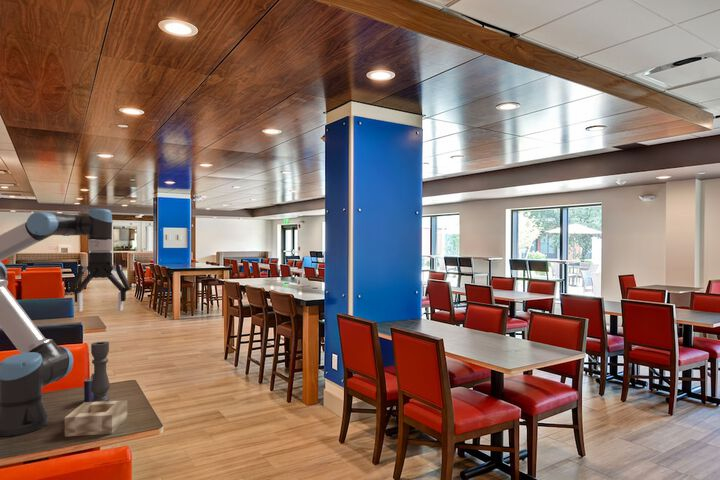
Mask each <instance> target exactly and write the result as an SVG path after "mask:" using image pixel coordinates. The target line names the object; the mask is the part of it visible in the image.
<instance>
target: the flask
mask: <svg viewBox="0 0 720 480" xmlns="http://www.w3.org/2000/svg"><path fill="white" fill-rule="evenodd" d="M90 374H91V376H90V377H89V378H86V379H84V381H83V391H84V393H83V395H84V396H83V397H84V398H83V399H84V401H83V403H84V402H91V400H92V399H93V397H94V396H93V393H92V392H91V383H92V379H93V375H94V372H92V373H90Z"/></svg>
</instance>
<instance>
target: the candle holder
mask: <svg viewBox="0 0 720 480" xmlns="http://www.w3.org/2000/svg"><path fill="white" fill-rule="evenodd" d="M109 352H110V342H109V341H97V342H93V343H91V344H90V353H91V356H92V357H93V359H92V360H91V363H92V364H93V366H94V367H93V373H94V375H93V379H92V383H91V392H92V393H93V396H94V397H93V399H92V400H91V402H100V401H110V397H109V396H108V395H107V394H108V392H109V390H110V388H111V385H110V380H109V376H108V373H107V364H108V362H109V358H107V357H108V355H109Z"/></svg>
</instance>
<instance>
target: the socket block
mask: <svg viewBox="0 0 720 480" xmlns="http://www.w3.org/2000/svg"><path fill="white" fill-rule="evenodd" d="M127 418H128V399H127V400H126V399H125V400H108V401H100V402H84V401H83V402H82V403H81V404H80V405H78V406H77V407H76V408H75V409H74V410H73V411H71V412H70V413H69V414H68V415H66V416H64V437H78V436H94V435H95V436H96V435H113V433H114V432H115V431H116V430H117V429H118V428H119V427H120V426H121V425H122V424H123V423H124V421H125V420H126V419H127Z"/></svg>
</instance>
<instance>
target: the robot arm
mask: <svg viewBox="0 0 720 480" xmlns="http://www.w3.org/2000/svg"><path fill="white" fill-rule="evenodd" d="M51 236H62V237H64V236H66V237H70V236H87V238H88V241H87V242H88V243H87V244H88V246H87V247H88V251H89V253H87V254H88V256H87V257H88V261H87V262H88V265H87V266H86V265H84V264H83V265H82V264H81V265H79V266H78V269H77V273H76V275H75V276H74V278H73V280H72V282H71V284H70V285H69V287H68V292H71V293H73V294H74V303H77V304H76V305H77V306H76V307H77V308H76V309H77V310H76V311H77V313H81V312H83V311H84V293H83V292H82V291H83V289H84V288H85V287H86V286H87V285H88V284H89V283H90V282H91V280H93V279H99V278H101V279H102V278H103V279H104V278H105V279H106V278H107V279H109V281H110V282H112V285H114V287H116V289H117V290H119V292H118V295H117V296H118V297H117V301H118V302H117V304H118V305H117V307H118V308H117V311H118V312H121V311H123V310H124V302H126V300H127V292H129V291H131V290H132V286H131V284H130V283H129V280H128V279H127V277H126V275H125V273H124V271H123V266H122V265H121V264H118V265H113V253H112V251H113V213H112V210H110V209H107V208H89V209H88V211H87V213H85V214H69V213H60V212H59V213H57V212H49V211H37V212H36V211H35V212H33V213H31V214H30V215H29V216H28V218H27V219H26V221H25V222H24V223H21V224H19V225H17V226H15V227H13V228H12V229H9V230H7V231H5V232H4V233H1V234H0V329H1V330H2V331H3V332H4V333H5V335H6V336H7V337H8V339H9V341H11V343H12V344H13V346H14V347H15V348H16V350H17V351H18V353H19V354H13V355H11V356H8V357H6V358H4V359H3V360H1V361H0V437H11V436H12V435H14V436H19V435H23V434H27V433H31V432H34V431H37V430H40V429H42V428H43V427H45V426H46V425H47V424H48V422H49V415H48V413H47V410H46V408H45V405H44V403H43V398H42V397H43V395H42V393H43V392H42V391H43V390H42V389H43V388H44V387H46V386H48V385H50V384H53V383H55V382H59V381H60V380H61V379H63V378H65V377H67V376H68V375H69V373H70V372H71V371H72V369H73V368H74V367H73V365H74V356H73V353H72V352H71V351H70V349H69V348H67V347H65V346H60V345H59V346H58V344H57V343H56V342H55V341H54V339H50V338H46V337H45V336H44V335H43V334H42V332H41V331H40V329H39V328H38V327H37V326H36V324H35V322H34V321H33V320H32V319H31V318H30V316H29V315H28V314H27V313H26V311H25V309H24V308H23V307H22V306H21V305H20V303H19V301H17V299H16V298H15V297H14V295H13V294H12V293H11V291H10V290H9V289H8V284H9V281H8V275H7V274H8V269H7V268H6V266H5V264H4V263H3V262H2V261H4V260H6V259H7V258H10V257H12V256H14V255H16V254H18V253H20V252H21V251H23V250H26V249H27V248H29V247H31V246H33V245H35V244H37V243H39V242H42V241H44V240H45V239H47V238H48V239H49V237H51ZM86 271H88V272H89V273H88V274H87V275H86V277H85V278H84V279H83V281H82V282H80V281H81V279H82V278H83V275H84V273H85V272H86ZM113 271H114V272H116V275H117V276H118V278H119V280H120V281H119V280H118V279H117V278H116V276H115V275H114V274H113V273H112V272H113ZM12 437H13V436H12Z"/></svg>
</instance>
